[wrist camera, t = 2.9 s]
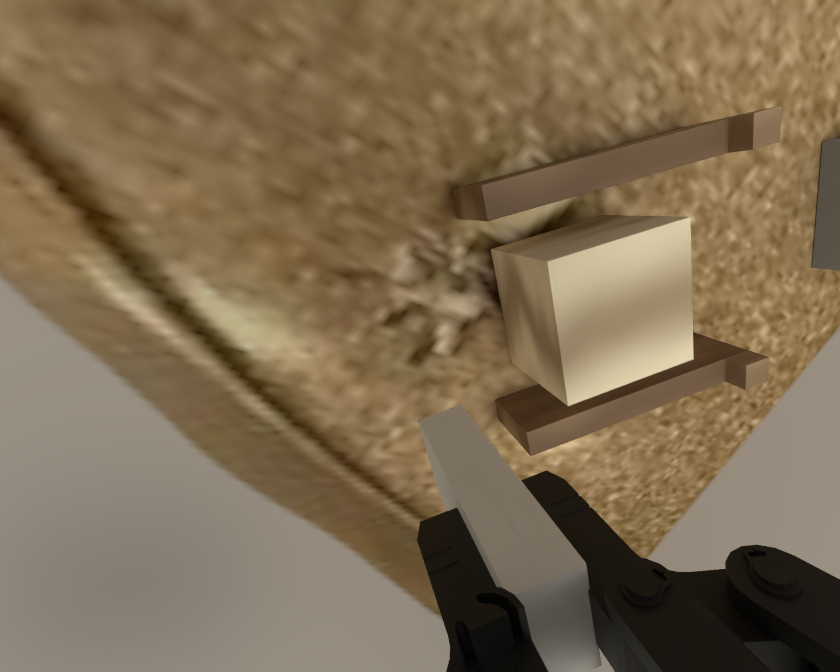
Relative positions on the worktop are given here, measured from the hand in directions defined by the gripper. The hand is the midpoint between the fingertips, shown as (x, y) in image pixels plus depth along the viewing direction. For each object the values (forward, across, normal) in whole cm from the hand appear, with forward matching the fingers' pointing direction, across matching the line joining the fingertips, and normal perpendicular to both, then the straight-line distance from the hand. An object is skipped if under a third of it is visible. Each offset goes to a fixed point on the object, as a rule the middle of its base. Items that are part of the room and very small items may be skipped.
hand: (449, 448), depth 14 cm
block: (+10, +10, 0) cm, 14 cm away
